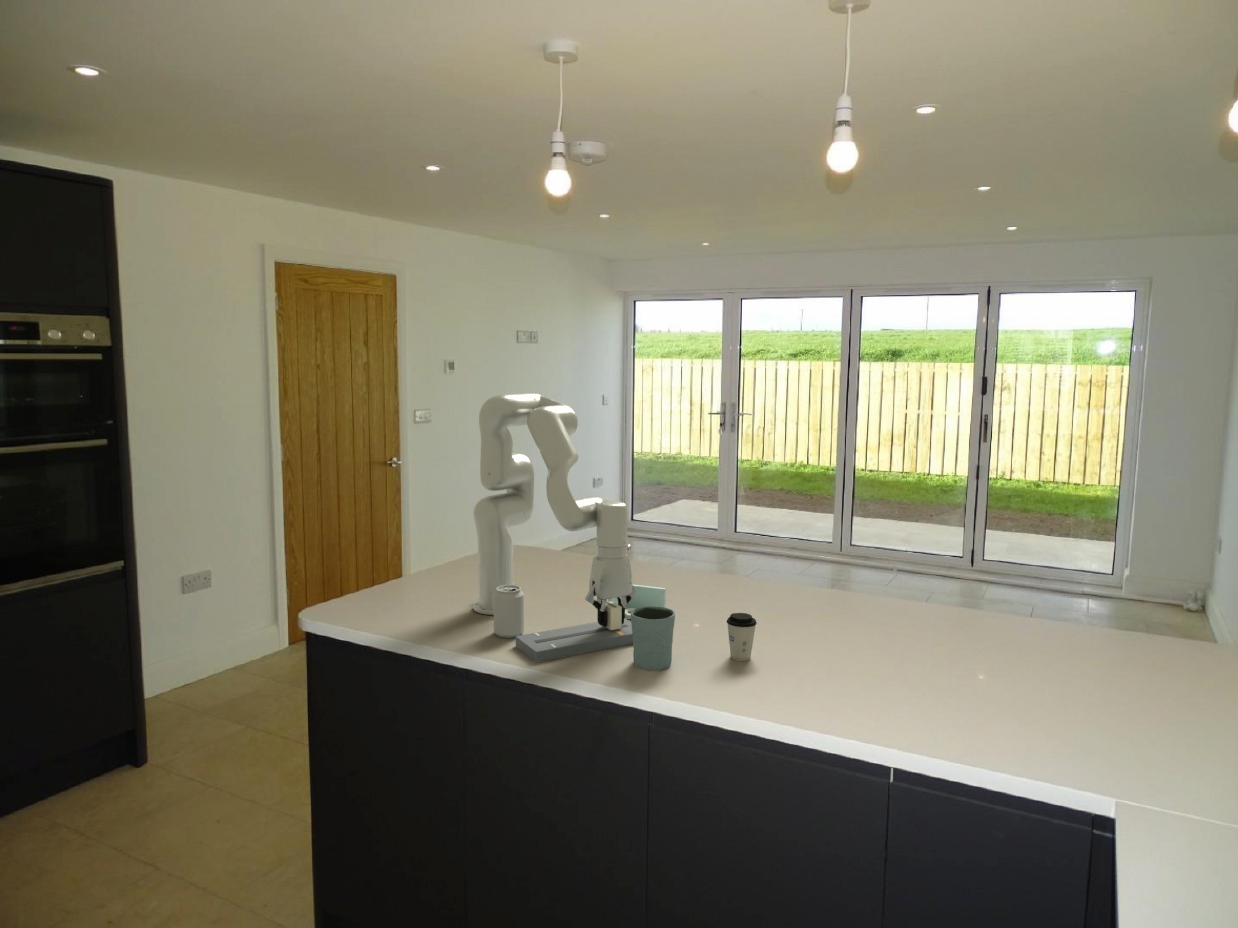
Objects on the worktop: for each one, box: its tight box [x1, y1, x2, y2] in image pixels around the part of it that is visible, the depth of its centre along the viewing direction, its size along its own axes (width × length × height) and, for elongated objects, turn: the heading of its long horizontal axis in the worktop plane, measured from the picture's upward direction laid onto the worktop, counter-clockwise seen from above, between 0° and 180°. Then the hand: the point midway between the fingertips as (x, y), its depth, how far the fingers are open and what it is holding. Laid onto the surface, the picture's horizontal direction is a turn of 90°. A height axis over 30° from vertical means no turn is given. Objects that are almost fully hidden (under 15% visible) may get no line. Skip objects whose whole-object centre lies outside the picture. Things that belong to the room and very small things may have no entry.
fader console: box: [515, 619, 633, 663], centre depth 200 cm, size 12×30×3 cm, turn 120°
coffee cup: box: [726, 612, 758, 662], centre depth 191 cm, size 7×7×10 cm
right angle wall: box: [607, 583, 667, 619], centre depth 221 cm, size 12×12×8 cm
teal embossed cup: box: [630, 606, 676, 671], centre depth 187 cm, size 10×10×12 cm
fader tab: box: [605, 601, 622, 630], centre depth 203 cm, size 5×3×6 cm, turn 30°
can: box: [493, 584, 525, 639], centre depth 206 cm, size 8×8×12 cm
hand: (611, 623), depth 204 cm, fingers open, 4 cm apart
